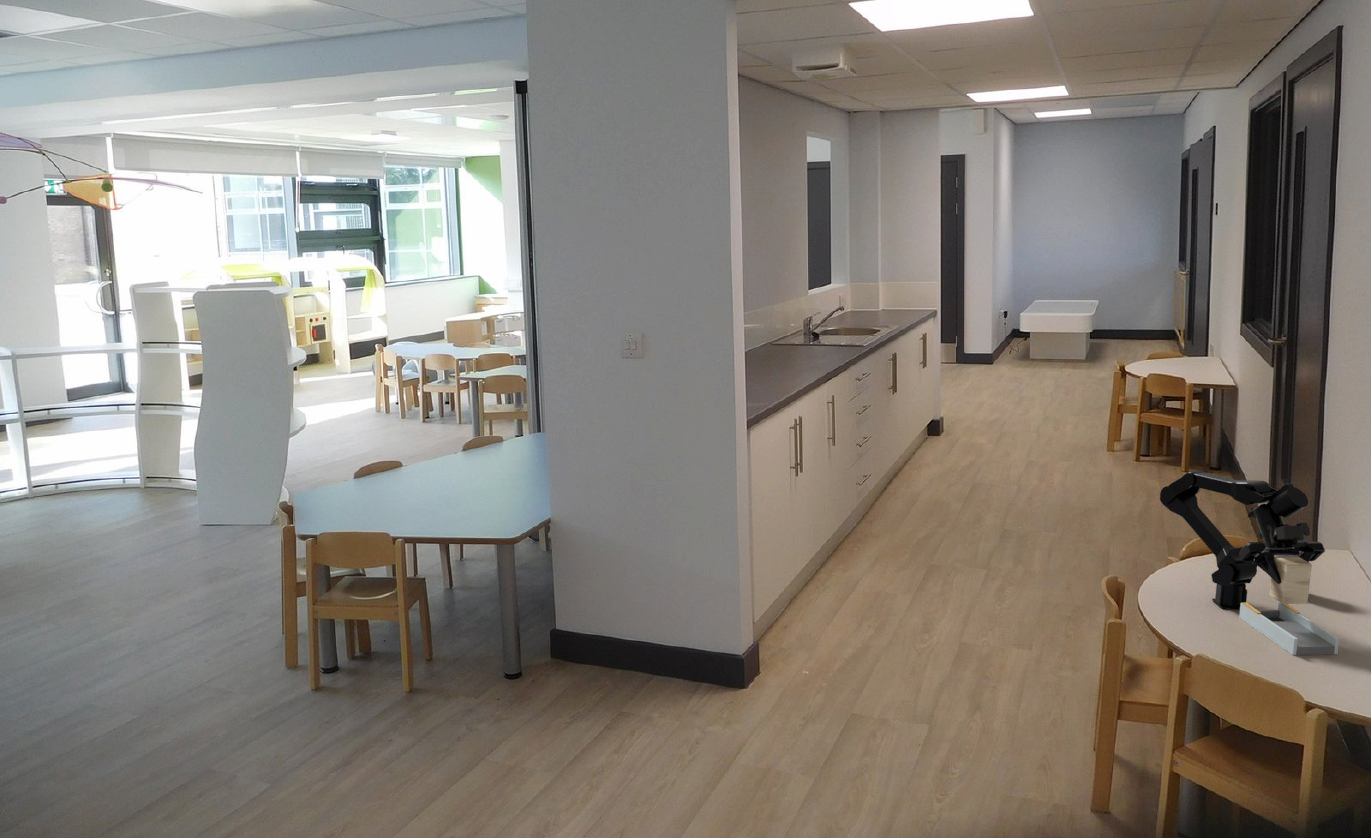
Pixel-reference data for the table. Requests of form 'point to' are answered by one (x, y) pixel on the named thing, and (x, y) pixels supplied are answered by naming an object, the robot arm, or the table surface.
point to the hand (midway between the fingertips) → (1292, 583)
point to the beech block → (1291, 580)
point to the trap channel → (1290, 630)
